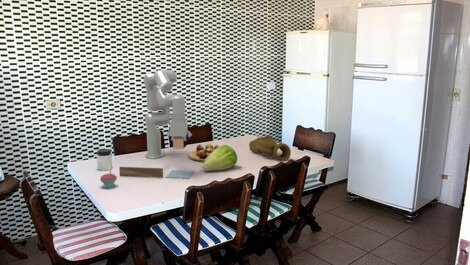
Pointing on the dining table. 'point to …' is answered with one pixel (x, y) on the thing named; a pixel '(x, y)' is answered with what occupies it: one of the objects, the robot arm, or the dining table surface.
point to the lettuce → (220, 159)
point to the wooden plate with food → (202, 152)
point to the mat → (180, 174)
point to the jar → (104, 159)
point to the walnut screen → (141, 172)
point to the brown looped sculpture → (270, 147)
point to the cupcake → (108, 179)
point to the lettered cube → (178, 143)
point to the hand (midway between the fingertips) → (179, 146)
